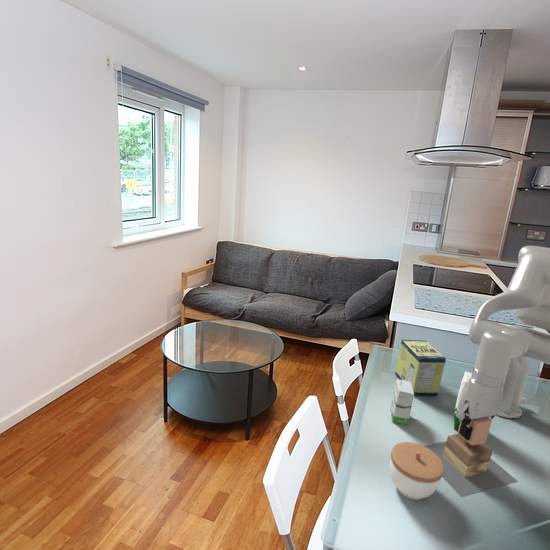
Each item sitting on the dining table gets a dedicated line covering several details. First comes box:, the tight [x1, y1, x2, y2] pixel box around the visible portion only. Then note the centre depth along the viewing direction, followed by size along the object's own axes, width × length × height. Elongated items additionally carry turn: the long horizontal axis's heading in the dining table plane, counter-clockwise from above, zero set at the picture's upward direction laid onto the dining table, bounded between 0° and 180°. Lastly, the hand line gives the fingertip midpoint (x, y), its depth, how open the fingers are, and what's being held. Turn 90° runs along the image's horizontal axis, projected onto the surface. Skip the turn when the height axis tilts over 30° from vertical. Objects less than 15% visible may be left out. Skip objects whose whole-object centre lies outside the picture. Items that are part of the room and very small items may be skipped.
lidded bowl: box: [389, 441, 444, 501], centre depth 97 cm, size 13×13×11 cm
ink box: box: [389, 378, 415, 426], centre depth 126 cm, size 9×5×12 cm, turn 168°
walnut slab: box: [445, 433, 493, 467], centre depth 107 cm, size 8×8×4 cm
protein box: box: [394, 339, 447, 397], centre depth 147 cm, size 10×16×16 cm
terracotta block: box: [457, 416, 492, 445], centre depth 105 cm, size 5×5×7 cm
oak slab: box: [443, 446, 489, 477], centre depth 108 cm, size 8×8×4 cm
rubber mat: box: [423, 440, 519, 498], centre depth 108 cm, size 20×18×1 cm
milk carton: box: [453, 371, 472, 432], centre depth 122 cm, size 9×9×20 cm
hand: (472, 434), depth 106 cm, fingers closed on terracotta block, 5 cm apart
